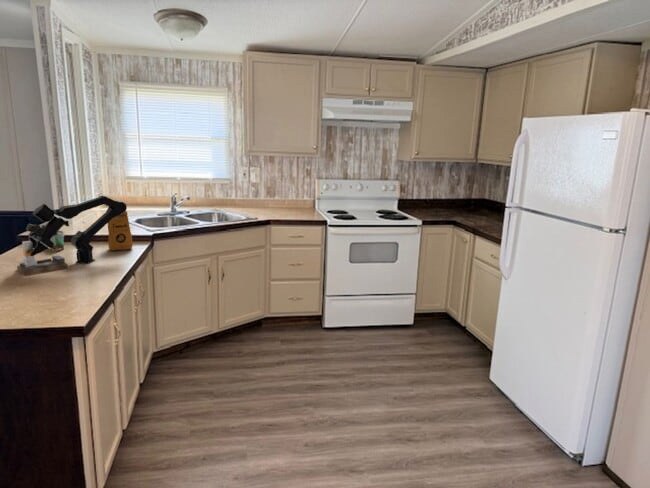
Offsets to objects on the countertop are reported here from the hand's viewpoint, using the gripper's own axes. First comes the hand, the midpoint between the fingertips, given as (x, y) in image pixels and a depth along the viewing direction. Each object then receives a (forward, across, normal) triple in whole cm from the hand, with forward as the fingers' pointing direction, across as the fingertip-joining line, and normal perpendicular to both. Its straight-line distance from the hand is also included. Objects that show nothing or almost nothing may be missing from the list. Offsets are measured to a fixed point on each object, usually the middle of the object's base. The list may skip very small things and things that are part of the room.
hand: (27, 253), depth 205 cm
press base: (+2, 0, +10) cm, 10 cm away
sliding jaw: (+4, 0, +5) cm, 6 cm away
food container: (-11, -36, +23) cm, 44 cm away
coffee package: (-28, -14, +40) cm, 51 cm away
